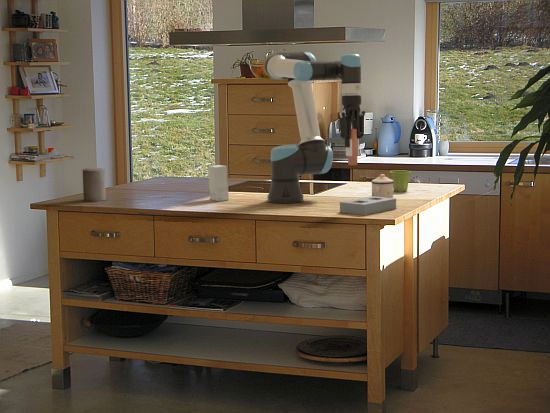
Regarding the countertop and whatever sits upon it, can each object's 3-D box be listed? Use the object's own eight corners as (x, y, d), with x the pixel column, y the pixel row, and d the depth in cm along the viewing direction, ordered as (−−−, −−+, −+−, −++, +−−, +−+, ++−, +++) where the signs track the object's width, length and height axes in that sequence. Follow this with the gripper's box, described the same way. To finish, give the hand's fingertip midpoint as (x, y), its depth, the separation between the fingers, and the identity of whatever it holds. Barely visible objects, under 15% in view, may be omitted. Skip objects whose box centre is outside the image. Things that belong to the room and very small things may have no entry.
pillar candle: (79, 201, 412) (77, 166, 410) (91, 198, 421) (90, 164, 419) (98, 202, 409) (97, 167, 406) (110, 199, 418) (109, 165, 415)
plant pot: (410, 189, 428) (410, 170, 427) (411, 192, 419) (411, 172, 418) (389, 189, 429) (389, 170, 428) (390, 192, 420) (390, 172, 418)
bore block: (339, 212, 366) (339, 202, 365) (371, 206, 380) (371, 196, 380) (364, 215, 358) (364, 204, 357) (396, 208, 372) (396, 198, 371)
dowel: (346, 165, 370) (345, 129, 368) (352, 164, 372) (351, 128, 370) (353, 165, 367) (352, 129, 365) (359, 164, 370) (358, 128, 368)
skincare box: (229, 200, 404) (228, 165, 402) (215, 201, 402) (214, 166, 400) (221, 198, 412) (220, 164, 410) (208, 199, 409) (207, 165, 407)
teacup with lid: (375, 200, 395) (375, 172, 394) (396, 201, 392) (396, 173, 390) (366, 204, 384) (366, 176, 383) (387, 205, 381) (387, 176, 379)
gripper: (344, 95, 358) (345, 157, 361) (372, 94, 369) (373, 154, 372) (329, 95, 363) (331, 156, 366) (358, 94, 374) (359, 153, 377)
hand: (352, 155), depth 369 cm, fingers closed on dowel, 3 cm apart
